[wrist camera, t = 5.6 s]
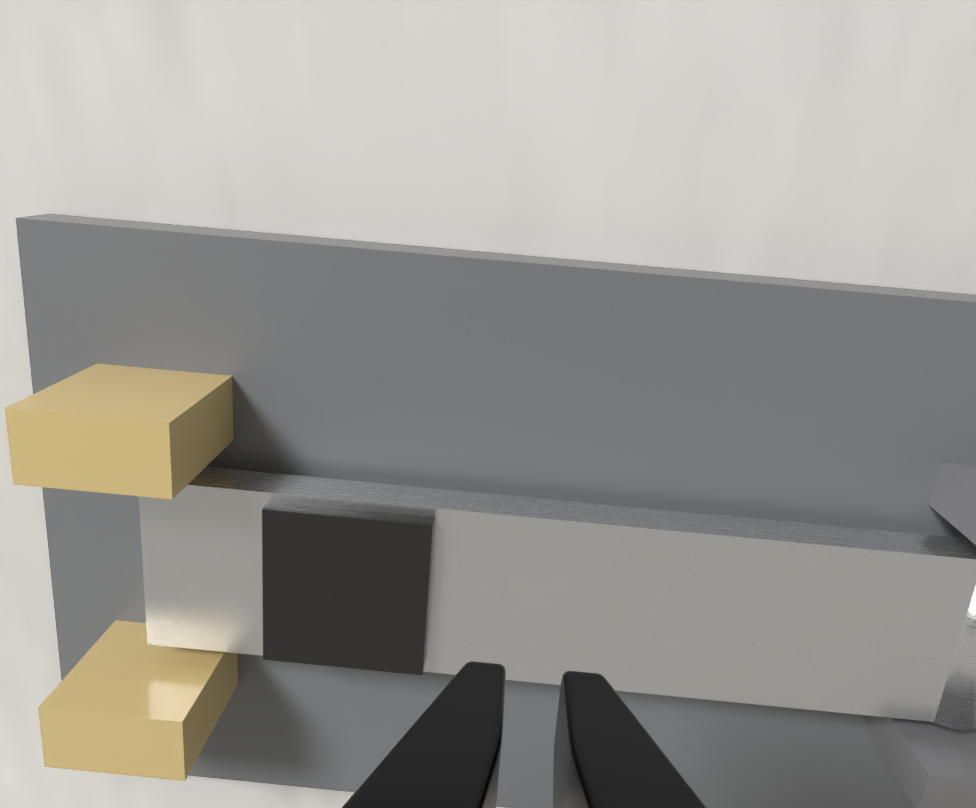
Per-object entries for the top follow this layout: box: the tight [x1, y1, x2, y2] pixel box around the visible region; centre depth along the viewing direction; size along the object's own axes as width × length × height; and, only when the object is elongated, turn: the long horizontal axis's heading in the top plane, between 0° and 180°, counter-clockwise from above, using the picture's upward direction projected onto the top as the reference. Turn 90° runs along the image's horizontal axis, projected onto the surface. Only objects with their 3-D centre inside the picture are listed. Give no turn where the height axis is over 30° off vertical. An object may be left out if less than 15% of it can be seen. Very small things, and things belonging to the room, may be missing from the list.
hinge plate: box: [5, 214, 976, 808], centre depth 17 cm, size 24×14×4 cm, turn 85°
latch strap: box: [139, 467, 976, 731], centre depth 17 cm, size 19×4×2 cm, turn 85°
